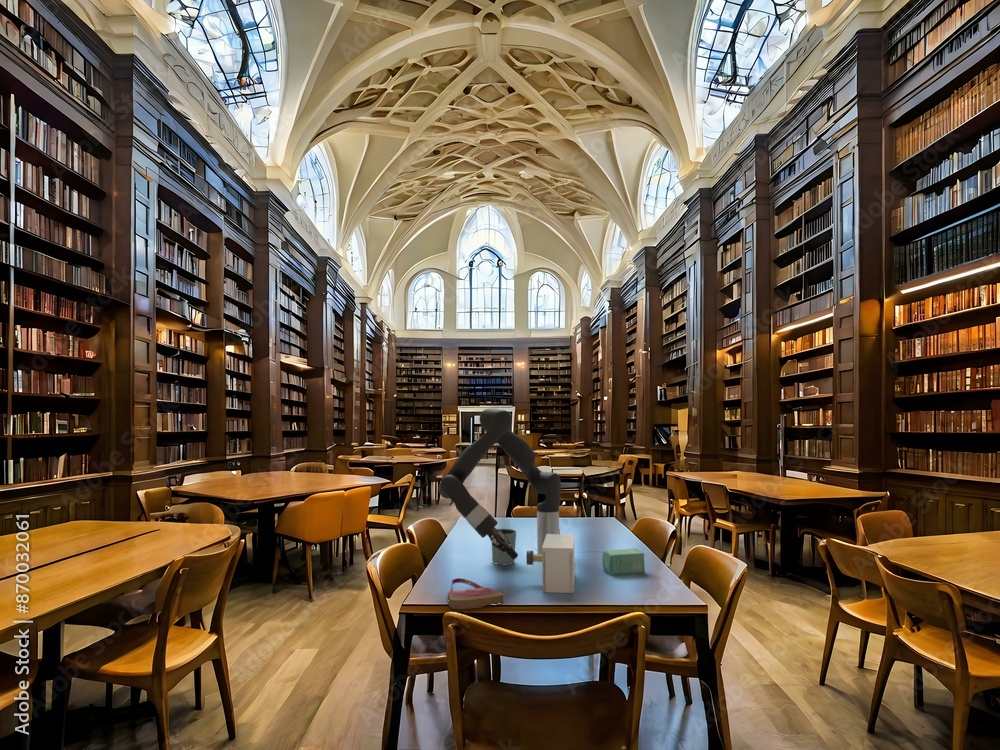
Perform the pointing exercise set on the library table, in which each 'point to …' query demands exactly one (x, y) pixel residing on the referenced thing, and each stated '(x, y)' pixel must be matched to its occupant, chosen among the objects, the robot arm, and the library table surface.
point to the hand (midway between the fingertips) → (516, 557)
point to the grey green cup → (501, 556)
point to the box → (623, 561)
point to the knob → (533, 557)
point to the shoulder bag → (473, 596)
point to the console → (558, 563)
